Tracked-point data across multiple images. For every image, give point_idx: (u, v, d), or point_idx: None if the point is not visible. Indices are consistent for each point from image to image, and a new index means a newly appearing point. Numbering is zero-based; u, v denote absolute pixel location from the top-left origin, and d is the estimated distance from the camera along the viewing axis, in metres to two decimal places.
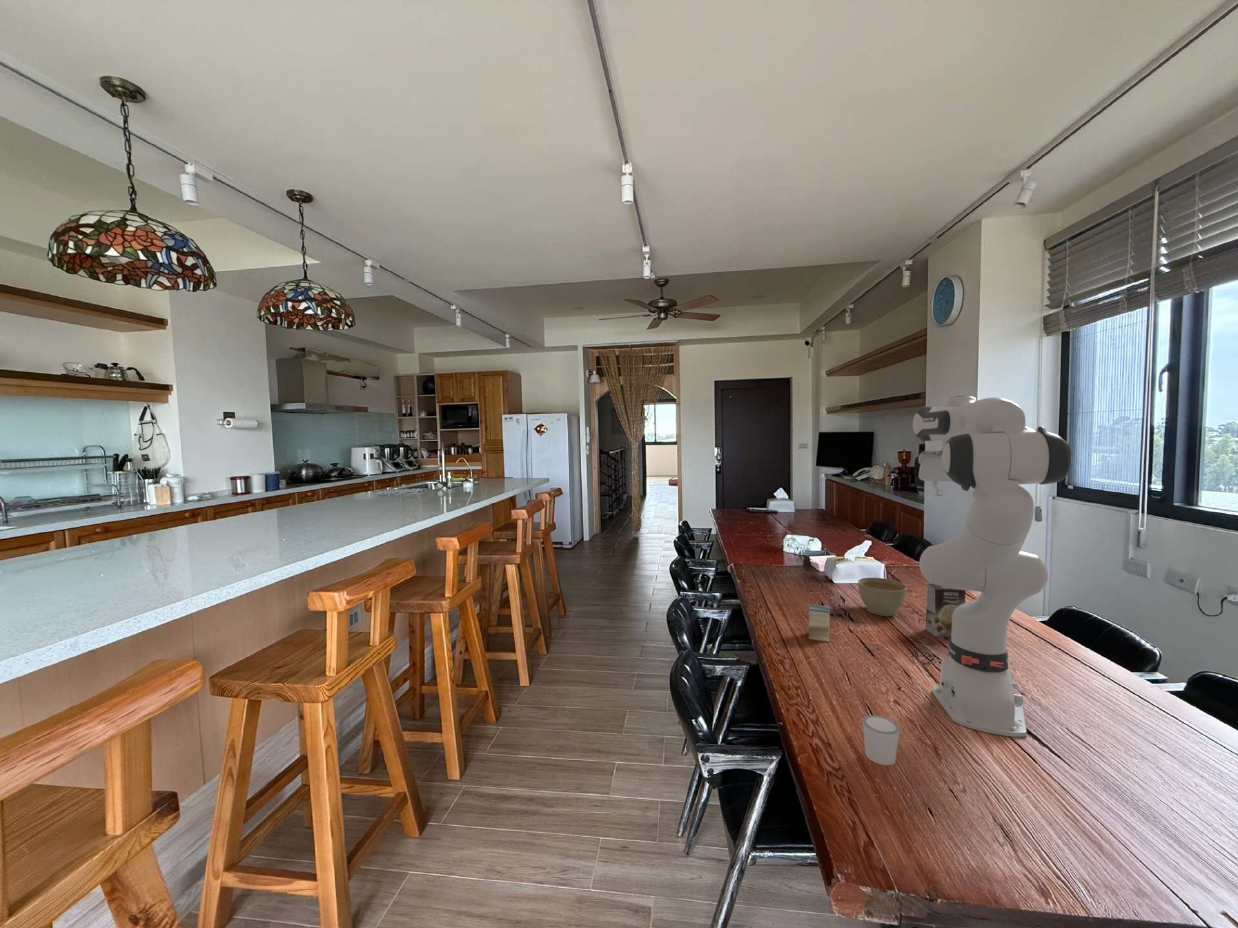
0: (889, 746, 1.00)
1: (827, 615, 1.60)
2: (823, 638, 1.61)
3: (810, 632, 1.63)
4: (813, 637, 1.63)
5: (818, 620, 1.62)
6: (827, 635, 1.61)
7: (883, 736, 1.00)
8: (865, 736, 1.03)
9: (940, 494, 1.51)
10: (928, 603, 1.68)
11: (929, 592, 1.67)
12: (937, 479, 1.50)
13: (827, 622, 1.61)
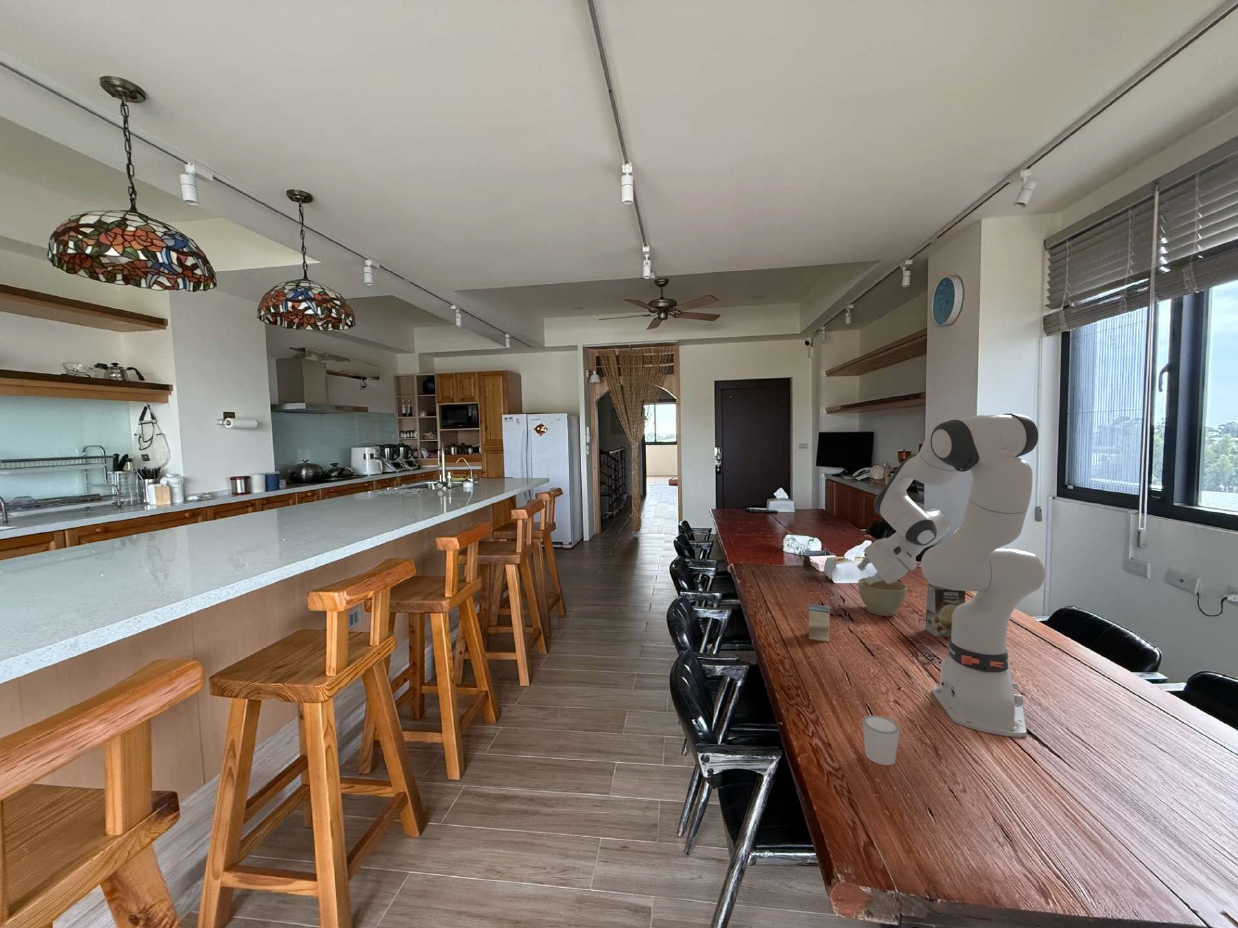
0: (889, 746, 1.00)
1: (827, 615, 1.60)
2: (823, 638, 1.61)
3: (810, 632, 1.63)
4: (813, 637, 1.63)
5: (818, 620, 1.62)
6: (827, 635, 1.61)
7: (883, 736, 1.00)
8: (865, 736, 1.03)
9: (858, 566, 1.64)
10: (928, 603, 1.68)
11: (929, 592, 1.67)
12: (867, 554, 1.64)
13: (827, 622, 1.61)
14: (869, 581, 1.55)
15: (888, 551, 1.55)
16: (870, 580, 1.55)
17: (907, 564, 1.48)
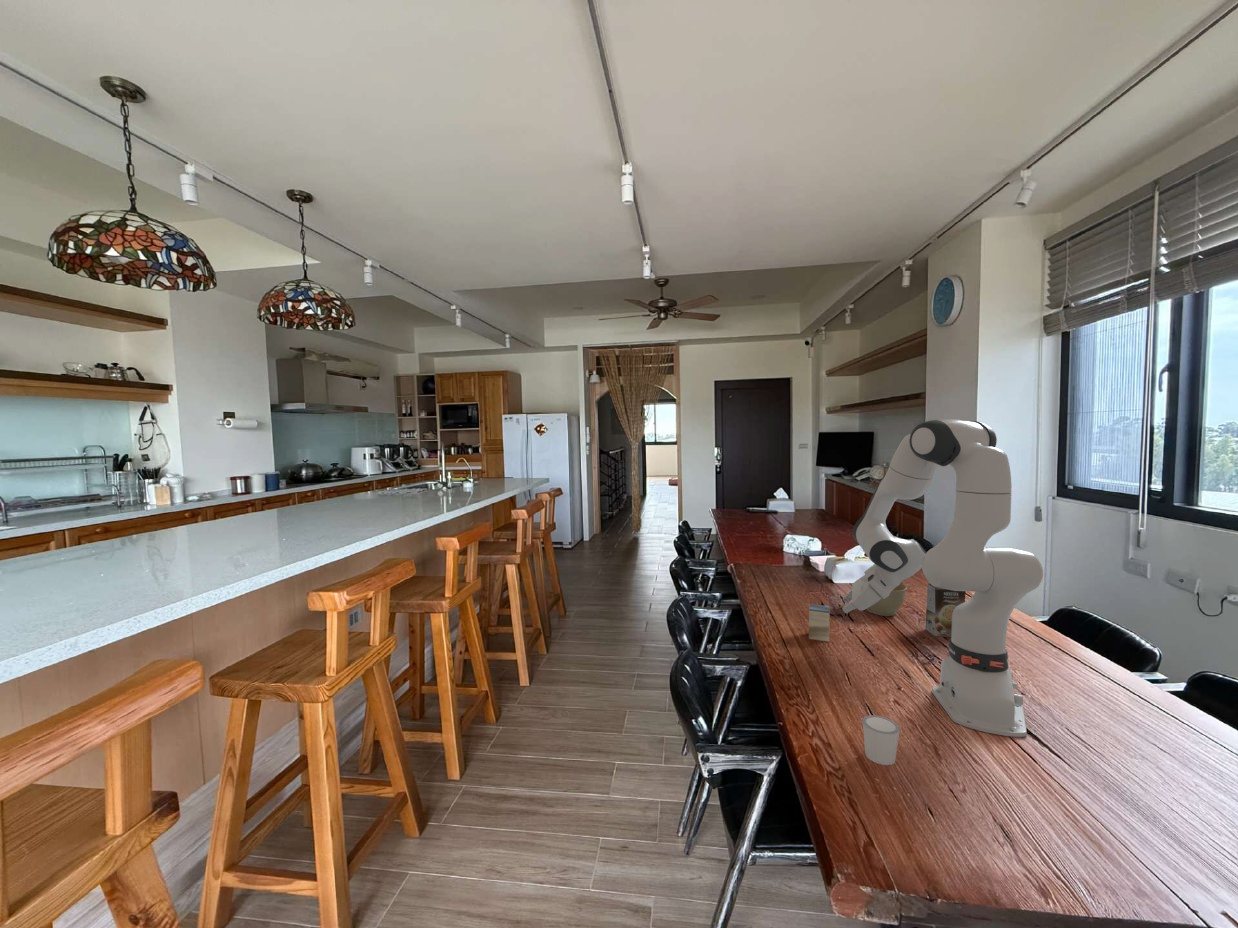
0: (889, 745, 1.00)
1: (827, 615, 1.60)
2: (823, 638, 1.61)
3: (810, 632, 1.63)
4: (813, 637, 1.63)
5: (818, 620, 1.62)
6: (827, 635, 1.61)
7: (883, 736, 1.00)
8: (865, 736, 1.03)
9: (843, 598, 1.65)
10: (928, 603, 1.68)
11: (929, 592, 1.68)
12: (852, 586, 1.64)
13: (827, 622, 1.61)
14: (845, 609, 1.56)
15: (866, 580, 1.56)
16: (846, 608, 1.56)
17: (878, 591, 1.48)
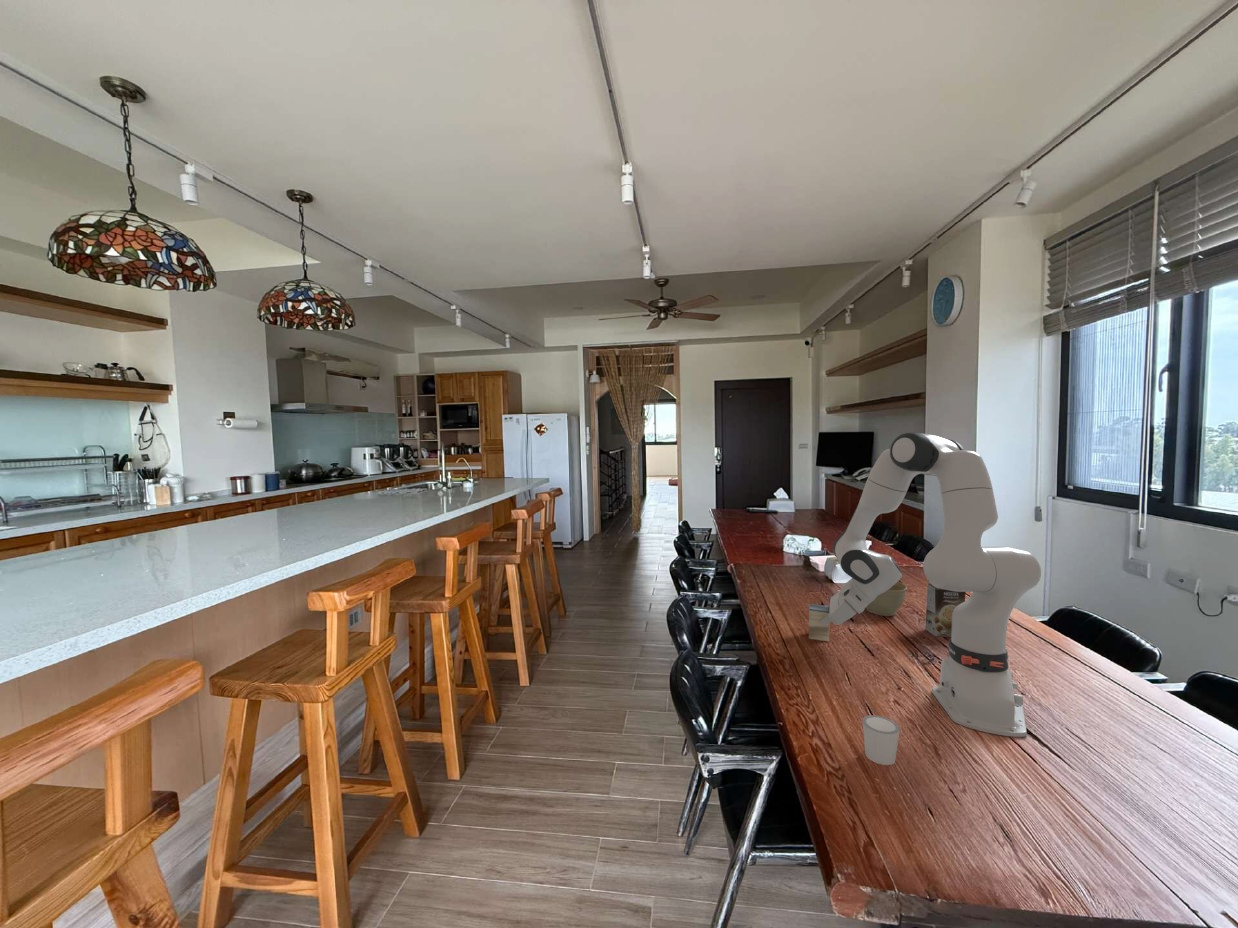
0: (889, 745, 1.00)
1: None
2: (823, 638, 1.61)
3: (810, 632, 1.63)
4: (813, 637, 1.63)
5: (818, 620, 1.62)
6: (827, 635, 1.61)
7: (883, 736, 1.00)
8: (865, 736, 1.03)
9: None
10: (928, 603, 1.68)
11: (929, 592, 1.67)
12: (830, 601, 1.67)
13: None
14: (822, 622, 1.60)
15: (842, 595, 1.59)
16: (823, 621, 1.60)
17: (854, 606, 1.51)
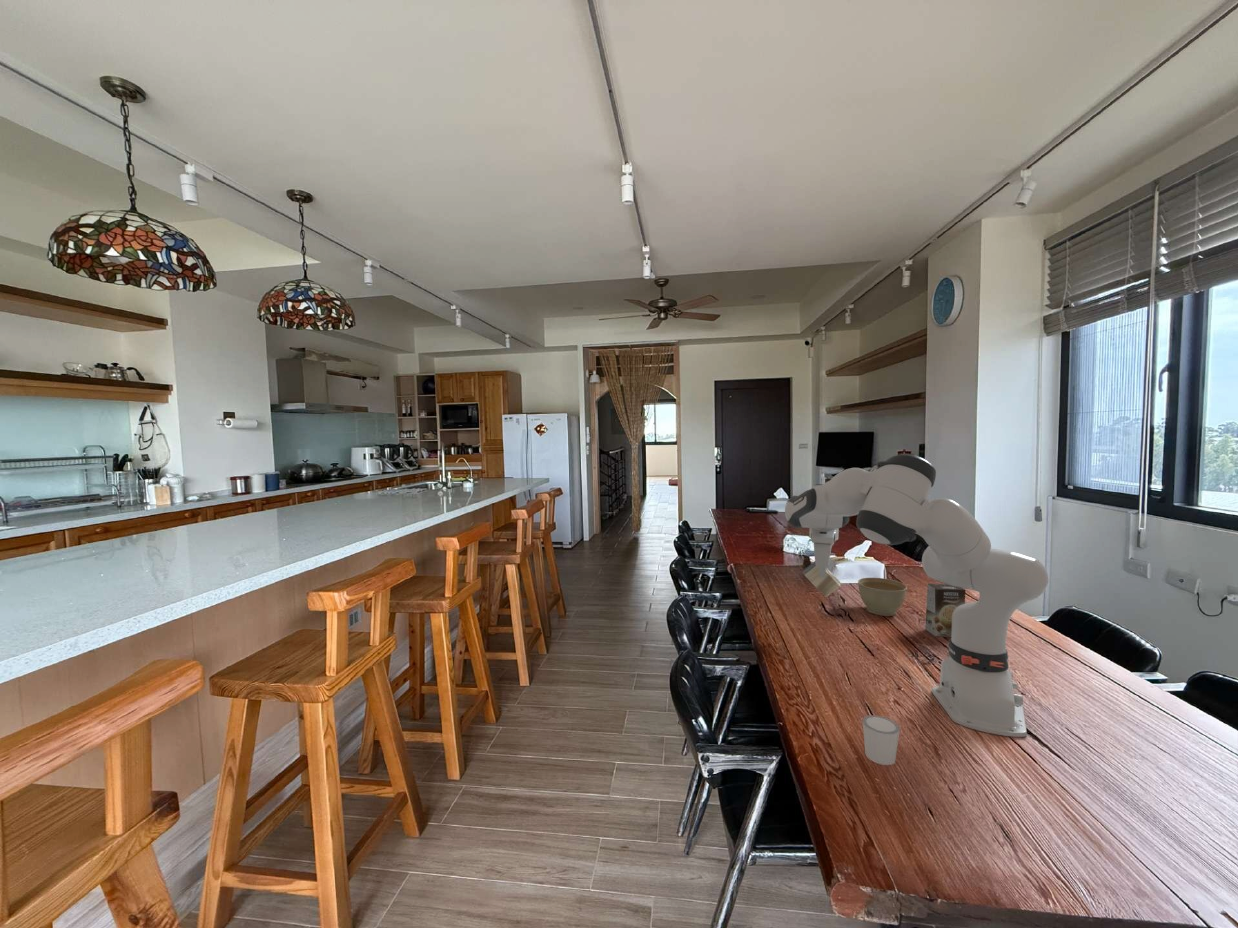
0: (889, 746, 1.00)
1: None
2: (834, 587, 1.59)
3: (822, 591, 1.61)
4: (827, 593, 1.60)
5: (817, 576, 1.61)
6: (835, 582, 1.59)
7: (883, 736, 1.00)
8: (865, 736, 1.03)
9: None
10: (928, 603, 1.68)
11: (929, 592, 1.68)
12: None
13: None
14: (821, 575, 1.59)
15: None
16: (821, 574, 1.59)
17: (824, 541, 1.54)
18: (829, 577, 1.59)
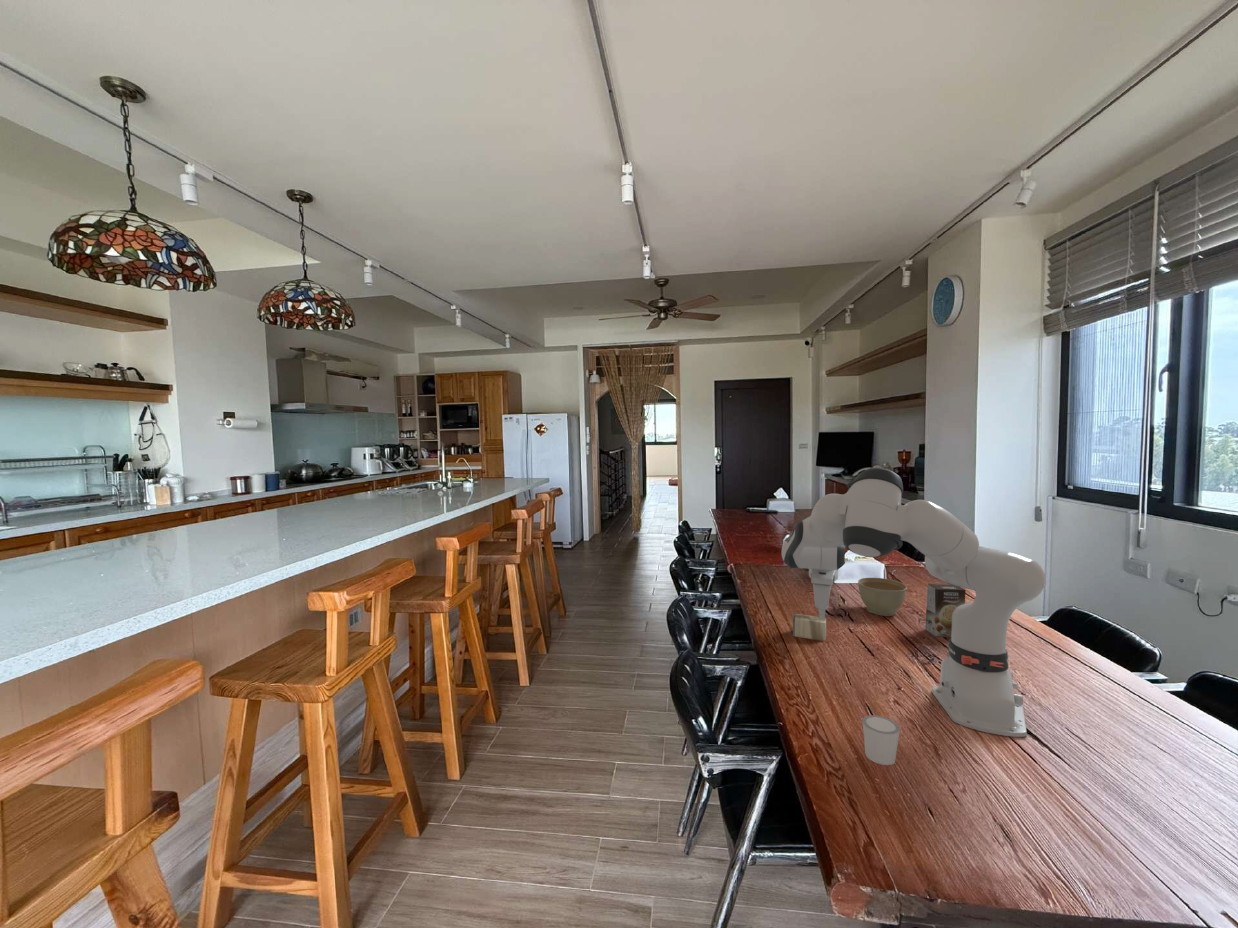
0: (889, 746, 1.00)
1: (797, 620, 1.65)
2: (822, 627, 1.61)
3: (818, 638, 1.62)
4: (823, 636, 1.61)
5: (804, 629, 1.64)
6: (819, 623, 1.62)
7: (883, 736, 1.00)
8: (865, 736, 1.03)
9: None
10: (928, 603, 1.68)
11: (929, 592, 1.67)
12: None
13: (805, 621, 1.63)
14: (821, 616, 1.58)
15: None
16: (820, 615, 1.58)
17: (823, 582, 1.55)
18: (812, 622, 1.63)
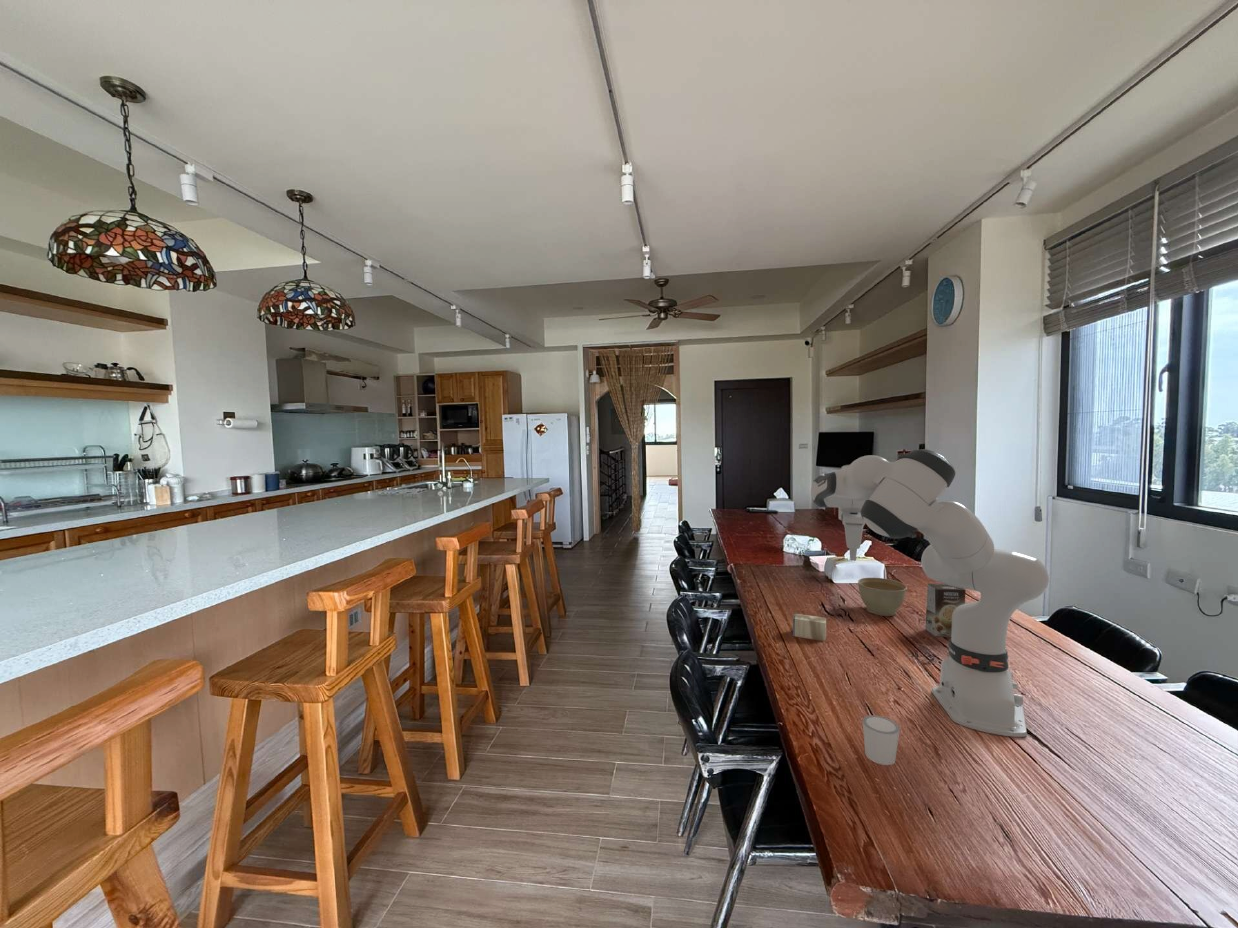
0: (889, 746, 1.00)
1: (797, 620, 1.65)
2: (822, 627, 1.61)
3: (818, 638, 1.62)
4: (823, 636, 1.61)
5: (804, 629, 1.64)
6: (819, 623, 1.62)
7: (883, 736, 1.00)
8: (865, 736, 1.03)
9: None
10: (928, 603, 1.68)
11: (929, 592, 1.67)
12: None
13: (805, 621, 1.63)
14: (852, 558, 1.56)
15: None
16: (852, 556, 1.56)
17: (855, 522, 1.52)
18: (812, 622, 1.63)
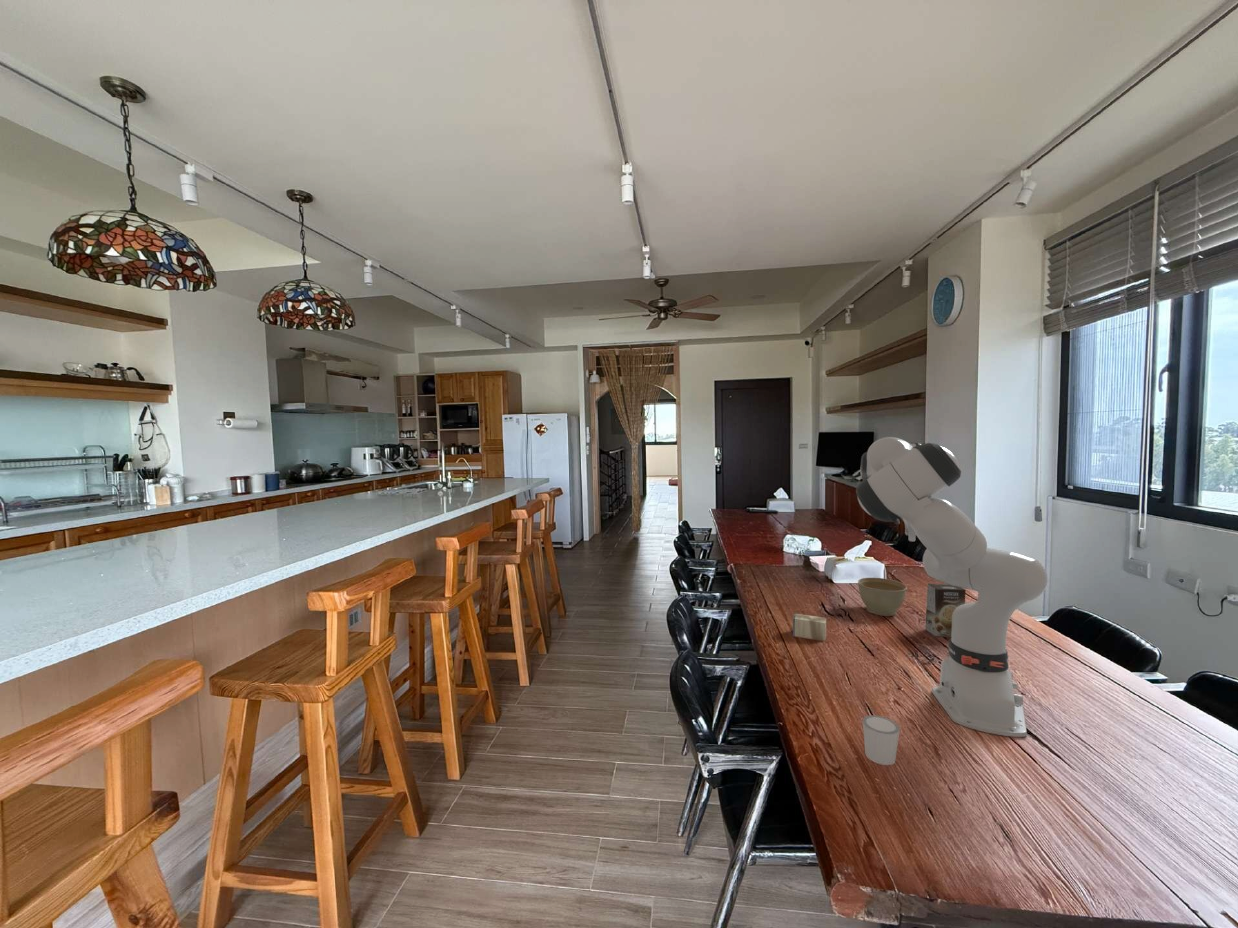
0: (889, 745, 1.00)
1: (797, 620, 1.65)
2: (822, 627, 1.61)
3: (818, 638, 1.62)
4: (823, 636, 1.61)
5: (804, 629, 1.64)
6: (819, 623, 1.62)
7: (883, 736, 1.00)
8: (865, 736, 1.03)
9: (905, 533, 1.61)
10: (928, 603, 1.68)
11: (929, 592, 1.67)
12: None
13: (805, 621, 1.63)
14: (911, 538, 1.52)
15: None
16: (911, 537, 1.52)
17: None
18: (812, 622, 1.63)
